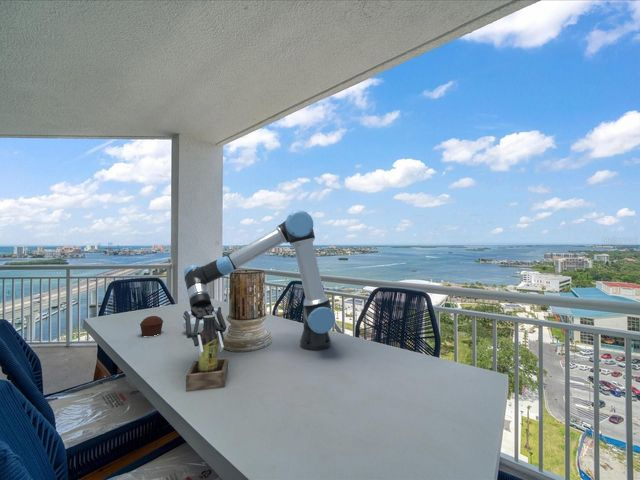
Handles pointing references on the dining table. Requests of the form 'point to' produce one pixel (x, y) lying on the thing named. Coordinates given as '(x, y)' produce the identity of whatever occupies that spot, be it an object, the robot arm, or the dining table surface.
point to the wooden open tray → (207, 376)
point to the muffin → (151, 326)
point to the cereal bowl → (201, 325)
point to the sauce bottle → (209, 346)
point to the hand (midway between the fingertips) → (211, 351)
